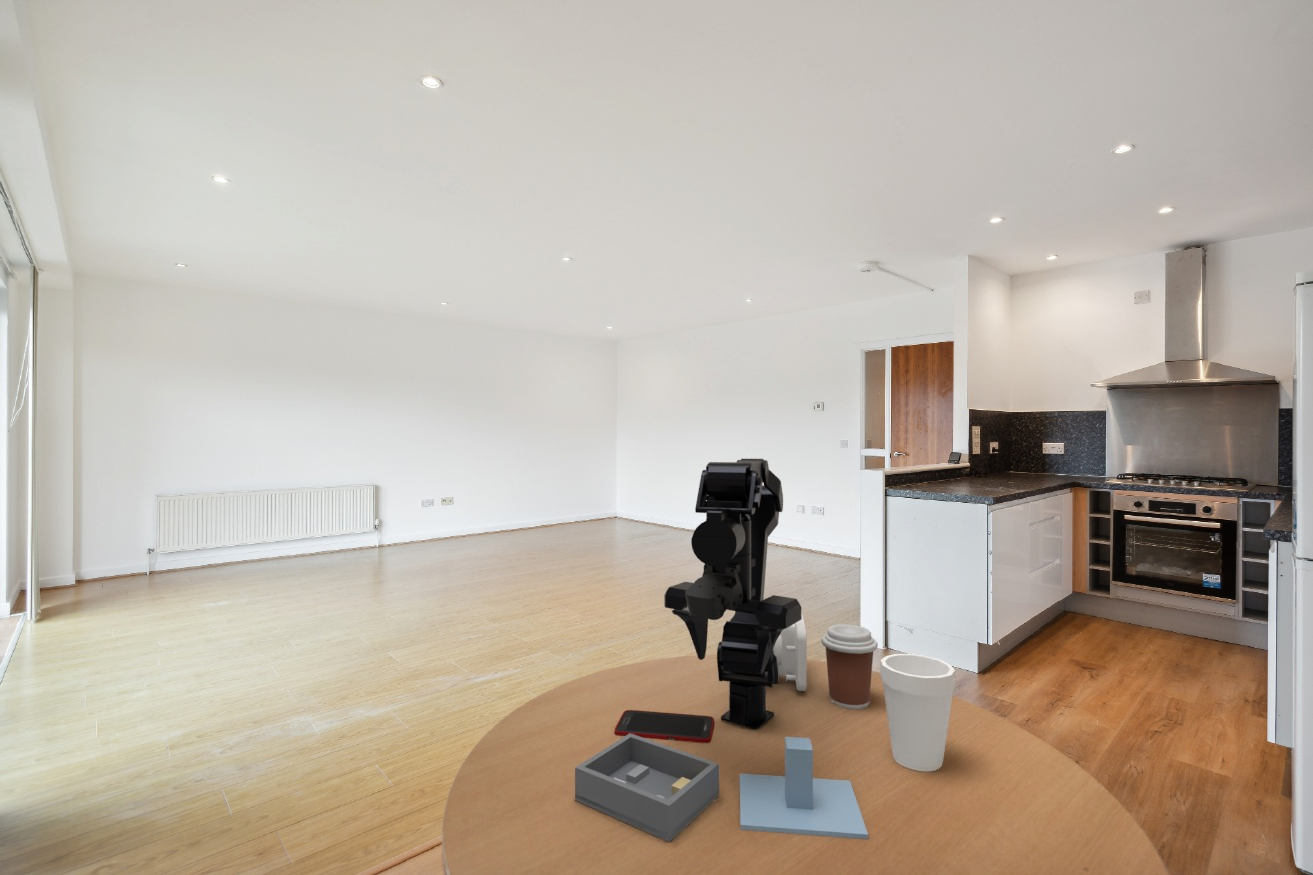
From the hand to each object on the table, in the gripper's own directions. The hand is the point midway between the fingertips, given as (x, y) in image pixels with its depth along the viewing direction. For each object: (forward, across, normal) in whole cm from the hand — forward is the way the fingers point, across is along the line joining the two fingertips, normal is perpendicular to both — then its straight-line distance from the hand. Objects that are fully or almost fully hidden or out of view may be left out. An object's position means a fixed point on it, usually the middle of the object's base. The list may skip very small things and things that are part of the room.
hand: (730, 665), depth 86 cm
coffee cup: (+13, +7, +29) cm, 33 cm away
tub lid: (+14, +12, -5) cm, 19 cm away
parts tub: (+13, -4, -14) cm, 20 cm away
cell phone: (+14, -13, +3) cm, 19 cm away
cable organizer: (+13, -7, +30) cm, 34 cm away
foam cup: (+13, +21, +15) cm, 29 cm away
